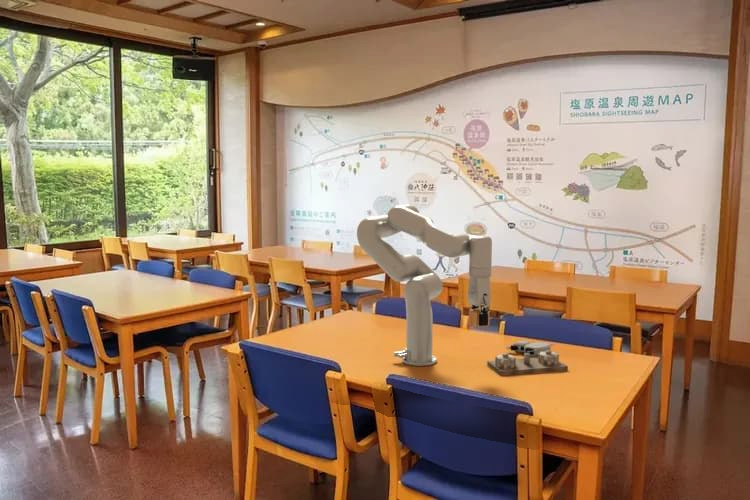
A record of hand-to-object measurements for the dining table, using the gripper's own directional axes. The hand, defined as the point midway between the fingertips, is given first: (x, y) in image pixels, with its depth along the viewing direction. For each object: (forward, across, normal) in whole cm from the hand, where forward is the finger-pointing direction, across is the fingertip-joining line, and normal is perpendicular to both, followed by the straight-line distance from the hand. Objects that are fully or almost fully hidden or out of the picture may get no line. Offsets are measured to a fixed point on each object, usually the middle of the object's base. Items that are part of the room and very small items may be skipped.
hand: (479, 322), depth 213 cm
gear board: (+17, 0, +18) cm, 25 cm away
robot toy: (+18, -16, +27) cm, 36 cm away
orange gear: (+1, 0, 0) cm, 1 cm away
